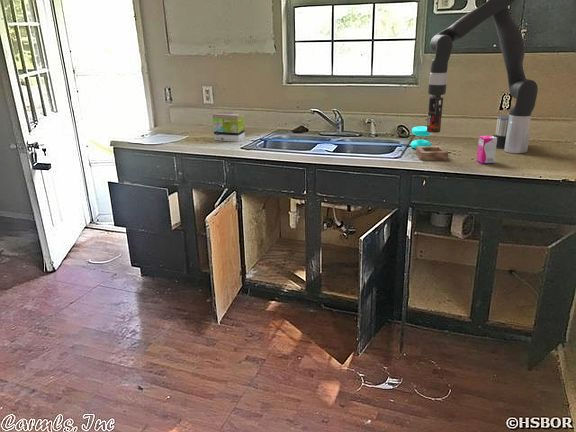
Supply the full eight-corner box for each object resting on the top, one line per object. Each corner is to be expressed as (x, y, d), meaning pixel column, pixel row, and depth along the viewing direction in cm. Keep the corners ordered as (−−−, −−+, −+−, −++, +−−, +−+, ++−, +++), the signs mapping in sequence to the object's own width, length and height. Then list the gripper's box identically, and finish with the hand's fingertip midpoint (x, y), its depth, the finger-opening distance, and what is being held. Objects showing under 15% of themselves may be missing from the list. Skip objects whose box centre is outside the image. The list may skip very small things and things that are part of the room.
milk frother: (510, 150, 228) (515, 119, 223) (477, 146, 238) (480, 116, 232) (517, 144, 239) (522, 114, 233) (485, 140, 248) (489, 112, 242)
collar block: (440, 153, 226) (441, 146, 225) (447, 159, 215) (448, 152, 213) (415, 153, 227) (416, 146, 225) (420, 160, 215) (421, 152, 214)
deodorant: (424, 131, 217) (426, 98, 211) (431, 129, 220) (434, 96, 215) (435, 133, 212) (438, 99, 207) (442, 131, 216) (445, 97, 211)
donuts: (426, 125, 239) (436, 129, 231) (424, 144, 243) (435, 149, 234) (408, 126, 237) (418, 130, 228) (406, 146, 241) (417, 150, 232)
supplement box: (488, 160, 212) (491, 135, 208) (494, 163, 207) (497, 137, 202) (475, 160, 212) (478, 135, 208) (481, 164, 206) (484, 138, 202)
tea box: (214, 141, 265) (211, 114, 260) (221, 137, 274) (219, 111, 269) (238, 142, 261) (237, 115, 255) (245, 138, 270) (244, 112, 264)
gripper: (450, 84, 202) (446, 124, 208) (442, 81, 215) (438, 118, 221) (432, 85, 202) (429, 124, 208) (425, 81, 215) (422, 118, 222)
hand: (434, 121), depth 215 cm, fingers closed on deodorant, 6 cm apart
